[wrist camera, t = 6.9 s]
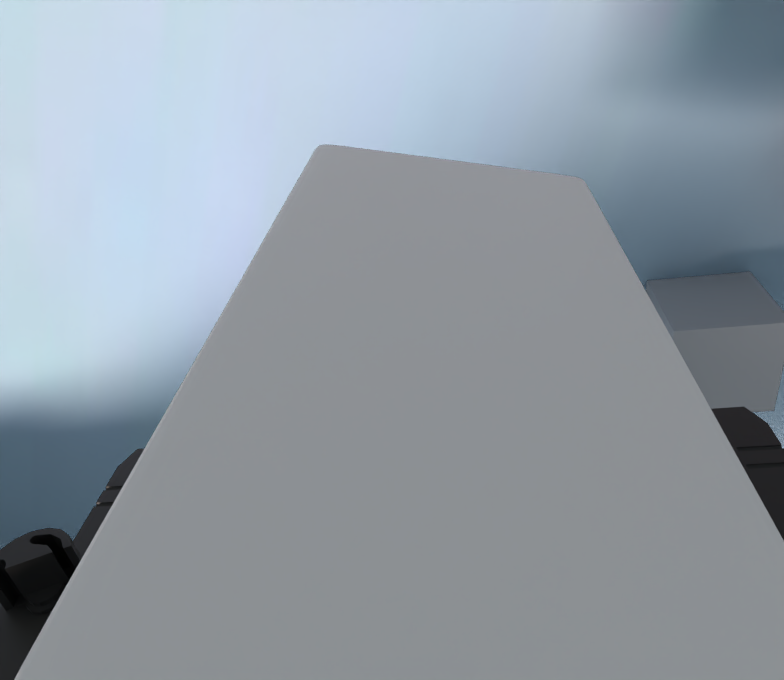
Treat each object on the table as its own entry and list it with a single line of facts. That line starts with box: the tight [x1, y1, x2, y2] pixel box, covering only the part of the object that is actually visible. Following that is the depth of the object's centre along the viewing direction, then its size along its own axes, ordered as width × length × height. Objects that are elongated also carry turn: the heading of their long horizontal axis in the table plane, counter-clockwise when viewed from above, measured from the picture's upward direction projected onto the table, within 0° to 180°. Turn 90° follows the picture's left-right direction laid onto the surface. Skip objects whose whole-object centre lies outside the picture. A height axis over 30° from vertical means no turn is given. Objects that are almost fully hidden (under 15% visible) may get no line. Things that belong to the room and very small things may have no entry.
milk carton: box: [14, 145, 784, 680], centre depth 11 cm, size 7×7×19 cm
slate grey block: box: [646, 272, 784, 412], centre depth 33 cm, size 5×5×5 cm
